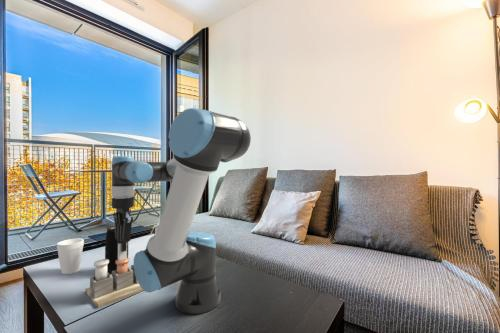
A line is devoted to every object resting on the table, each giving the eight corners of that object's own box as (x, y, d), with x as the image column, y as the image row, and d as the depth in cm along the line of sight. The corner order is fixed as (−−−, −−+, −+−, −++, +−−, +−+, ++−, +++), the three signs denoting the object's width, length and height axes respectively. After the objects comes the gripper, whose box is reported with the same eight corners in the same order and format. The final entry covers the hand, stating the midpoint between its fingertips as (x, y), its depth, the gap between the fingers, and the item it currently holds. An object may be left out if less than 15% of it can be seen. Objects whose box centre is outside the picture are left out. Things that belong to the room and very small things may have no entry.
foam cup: (57, 278, 97) (57, 246, 97) (56, 270, 104) (56, 241, 104) (84, 271, 104) (85, 241, 104) (82, 264, 111) (82, 237, 111)
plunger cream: (110, 280, 84) (111, 261, 84) (95, 285, 81) (96, 265, 81) (106, 276, 87) (106, 258, 87) (91, 280, 84) (92, 261, 84)
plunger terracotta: (131, 277, 89) (131, 259, 89) (118, 282, 86) (118, 263, 86) (126, 274, 92) (126, 256, 92) (113, 278, 89) (113, 260, 89)
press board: (157, 285, 92) (157, 268, 92) (98, 308, 77) (98, 287, 77) (140, 273, 102) (140, 258, 102) (85, 292, 87) (85, 273, 87)
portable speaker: (123, 274, 101) (123, 228, 101) (100, 274, 101) (100, 229, 101) (131, 265, 110) (131, 223, 110) (110, 266, 109) (110, 224, 109)
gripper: (140, 197, 88) (139, 261, 88) (126, 194, 96) (126, 252, 96) (118, 199, 82) (118, 267, 82) (106, 196, 91) (105, 257, 91)
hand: (122, 259), depth 89 cm, fingers closed
